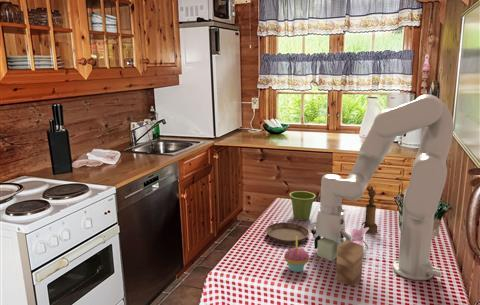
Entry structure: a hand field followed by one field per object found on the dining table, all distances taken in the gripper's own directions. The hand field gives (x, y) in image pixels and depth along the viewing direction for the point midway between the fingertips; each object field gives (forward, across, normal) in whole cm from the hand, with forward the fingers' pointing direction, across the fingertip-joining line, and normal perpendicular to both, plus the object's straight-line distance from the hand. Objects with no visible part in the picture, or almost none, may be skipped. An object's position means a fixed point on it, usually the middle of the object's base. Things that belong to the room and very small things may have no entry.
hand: (328, 251), depth 145 cm
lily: (+2, -5, -13) cm, 14 cm away
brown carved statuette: (+2, 0, -32) cm, 32 cm away
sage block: (+2, 0, 0) cm, 2 cm away
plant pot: (+2, +29, -23) cm, 37 cm away
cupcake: (+2, +2, +16) cm, 17 cm away
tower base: (+1, -14, +10) cm, 17 cm away
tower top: (-5, -14, +10) cm, 18 cm away
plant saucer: (+2, +21, -2) cm, 21 cm away
